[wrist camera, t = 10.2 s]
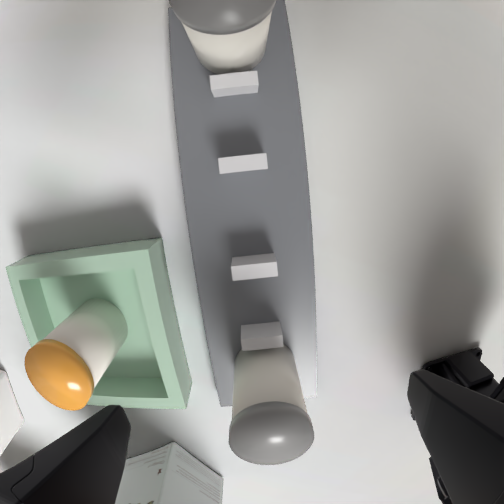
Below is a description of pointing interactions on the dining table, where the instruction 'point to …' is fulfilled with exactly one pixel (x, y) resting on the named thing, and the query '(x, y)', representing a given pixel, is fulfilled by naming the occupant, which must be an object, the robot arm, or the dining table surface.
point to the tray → (127, 301)
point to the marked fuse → (76, 354)
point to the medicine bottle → (8, 412)
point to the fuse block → (248, 216)
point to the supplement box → (168, 479)
